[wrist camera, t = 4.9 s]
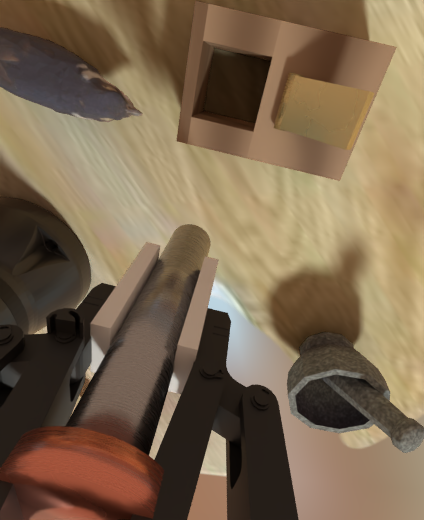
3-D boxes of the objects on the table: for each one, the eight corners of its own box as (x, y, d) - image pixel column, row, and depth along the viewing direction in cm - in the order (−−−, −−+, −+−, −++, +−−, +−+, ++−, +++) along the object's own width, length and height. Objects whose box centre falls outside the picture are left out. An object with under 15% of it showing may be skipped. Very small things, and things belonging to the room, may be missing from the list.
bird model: (-37, 3, 24) (-102, -13, 20) (161, 81, 25) (140, 82, 21) (-33, 66, 27) (-89, 63, 22) (149, 136, 27) (128, 147, 23)
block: (190, 131, 27) (176, 141, 22) (208, 15, 22) (195, 0, 18) (327, 164, 26) (339, 180, 22) (371, 53, 22) (396, 47, 18)
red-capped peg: (155, 262, 22) (2, 531, 9) (162, 203, 19) (-31, 451, 6) (216, 277, 22) (153, 569, 9) (230, 220, 19) (173, 503, 6)
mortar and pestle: (302, 386, 40) (315, 491, 30) (270, 336, 37) (272, 435, 27) (394, 363, 36) (445, 476, 26) (368, 305, 33) (415, 408, 22)
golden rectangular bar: (277, 127, 21) (270, 127, 20) (293, 73, 19) (286, 71, 19) (350, 151, 18) (344, 151, 18) (376, 91, 17) (370, 89, 16)
